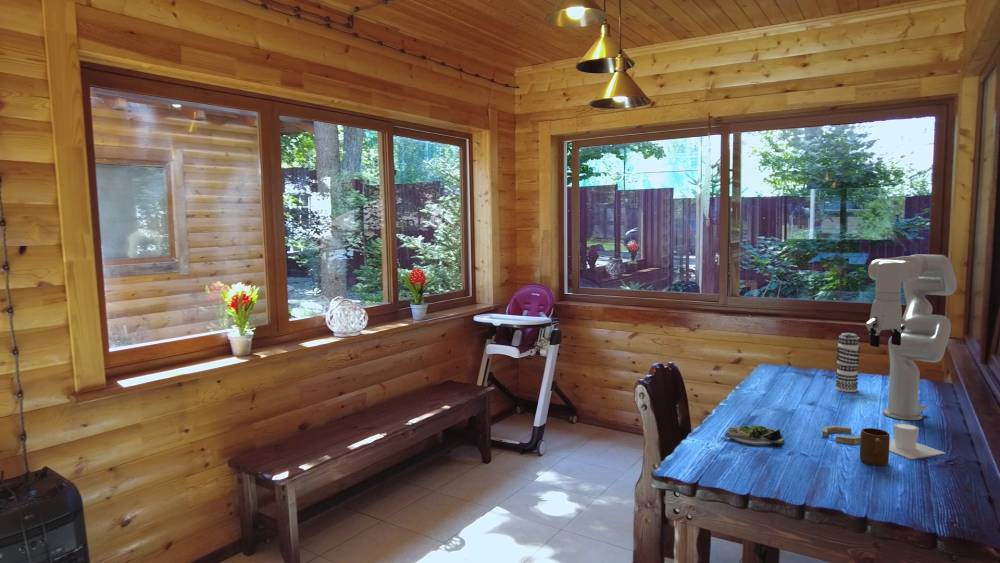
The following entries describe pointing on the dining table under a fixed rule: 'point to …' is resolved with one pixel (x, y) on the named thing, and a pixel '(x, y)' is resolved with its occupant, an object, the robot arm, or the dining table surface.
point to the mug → (874, 446)
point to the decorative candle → (847, 362)
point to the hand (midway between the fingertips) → (885, 345)
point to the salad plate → (755, 435)
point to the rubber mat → (914, 451)
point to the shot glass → (905, 436)
